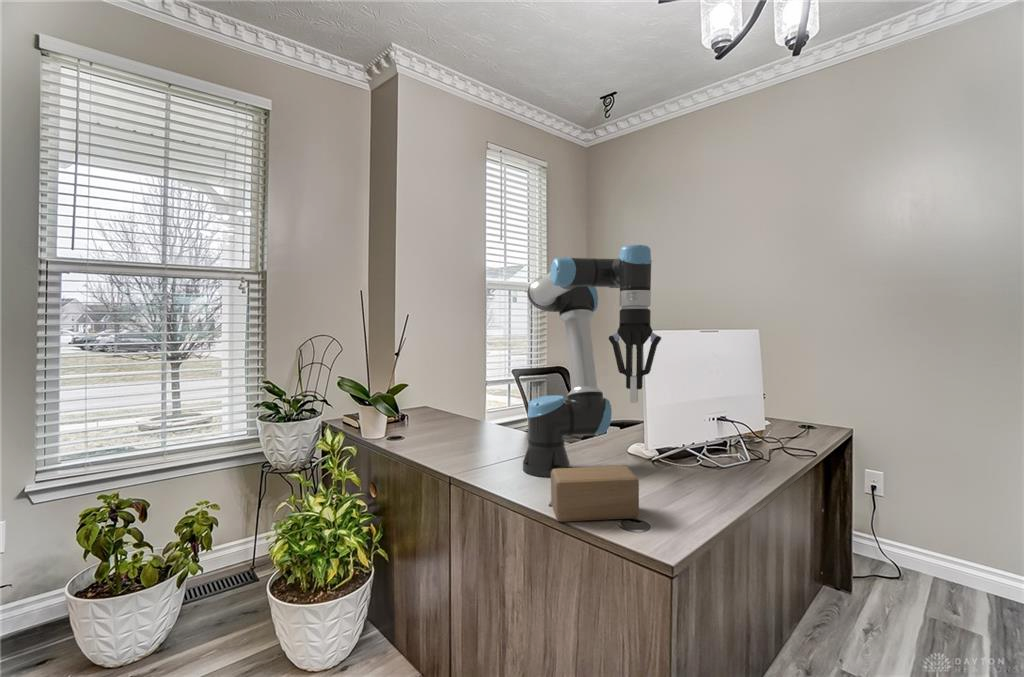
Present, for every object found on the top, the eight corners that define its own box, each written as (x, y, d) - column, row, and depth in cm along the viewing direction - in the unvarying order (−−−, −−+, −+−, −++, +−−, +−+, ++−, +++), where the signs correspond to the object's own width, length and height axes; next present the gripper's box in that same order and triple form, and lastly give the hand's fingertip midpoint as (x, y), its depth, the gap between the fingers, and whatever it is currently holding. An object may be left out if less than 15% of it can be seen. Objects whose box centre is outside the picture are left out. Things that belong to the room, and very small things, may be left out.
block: (627, 501, 124) (550, 505, 123) (627, 464, 123) (550, 467, 122) (640, 519, 114) (556, 523, 113) (640, 478, 113) (556, 482, 112)
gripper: (605, 308, 119) (605, 402, 120) (660, 307, 113) (659, 406, 114) (612, 308, 126) (611, 398, 126) (663, 308, 120) (662, 401, 121)
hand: (634, 401), depth 120 cm, fingers closed
